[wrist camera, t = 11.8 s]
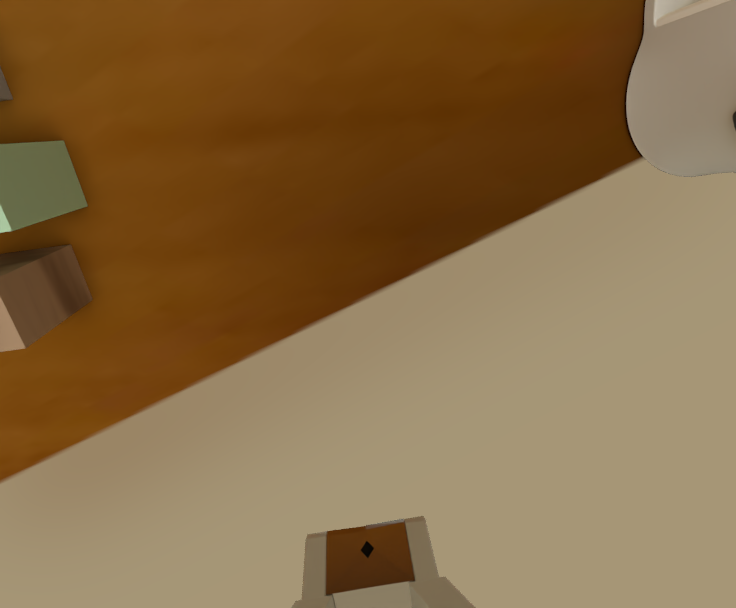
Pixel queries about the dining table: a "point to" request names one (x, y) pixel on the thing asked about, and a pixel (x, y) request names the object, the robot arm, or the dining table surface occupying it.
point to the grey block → (4, 89)
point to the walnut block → (38, 293)
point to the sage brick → (36, 184)
